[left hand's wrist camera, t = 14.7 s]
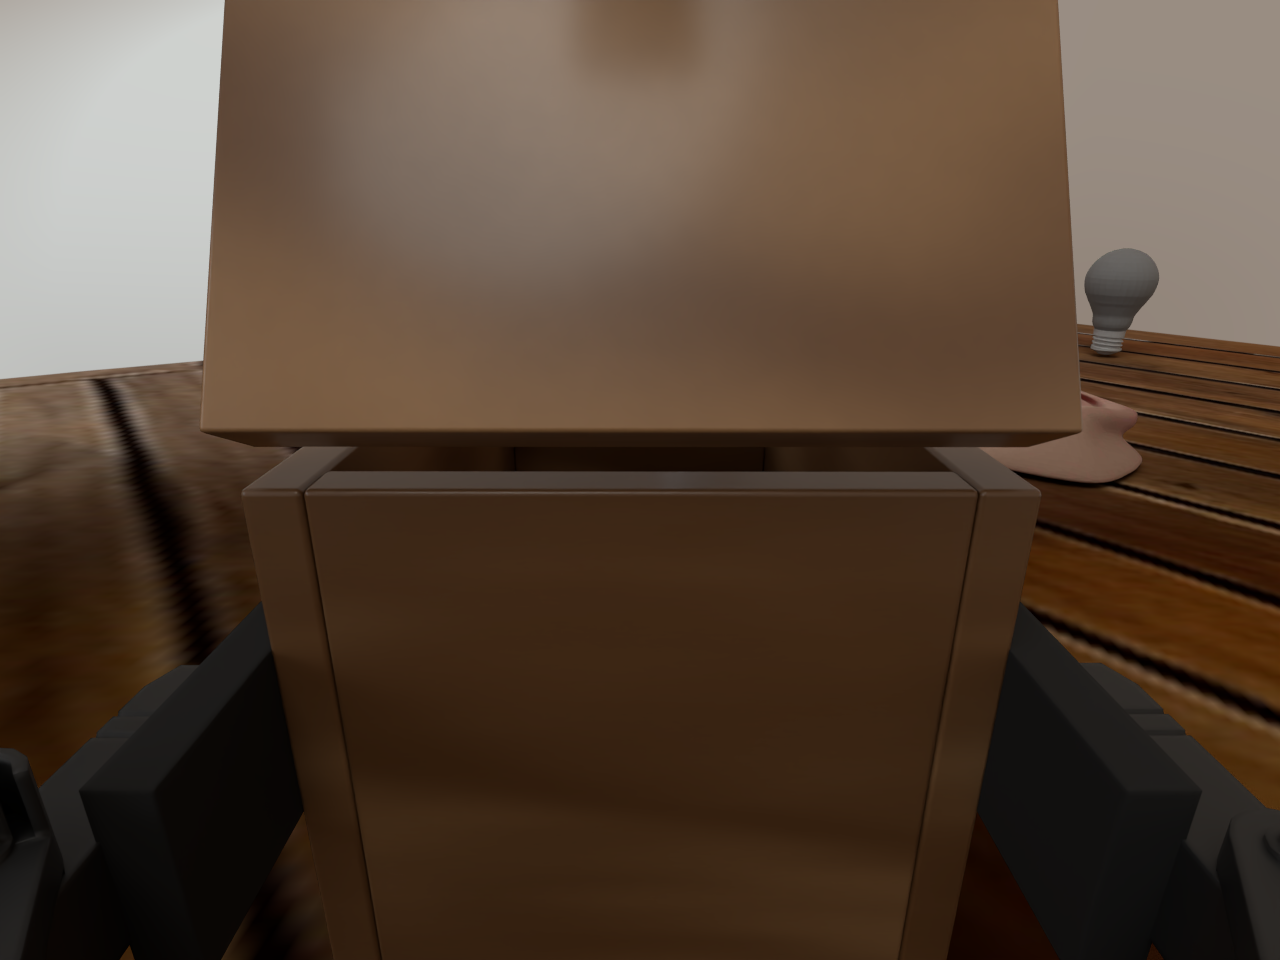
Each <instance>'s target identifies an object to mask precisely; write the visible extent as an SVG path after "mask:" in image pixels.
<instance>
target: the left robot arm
mask: <svg viewBox="0 0 1280 960" xmlns="http://www.w3.org/2000/svg"><path fill="white" fill-rule="evenodd" d="M303 811H304V810H303V805H302V800H301V795H300V790H299V785H298V780H297V775H296V770H295V764H294V760H293V755H292V749H291V744H290V739H289V734H288V729H287V724H286V719H285V714H284V709H283V704H282V699H281V694H280V689H279V684H278V679H277V674H276V669H275V664H274V659H273V654H272V649H271V644H270V639H269V634H268V629H267V624H266V619H265V614H264V609H263V604H262V601H261V602H260V603H259V604H258V605H257V606H256V607H255V608H254V609H253V610H252V611H251V612H250V613H249V614H248V615H247V616H246V617H245V619H244V620H243V621H242V622H241V623H240V624H239V625H238V626H237V627H236V628H235V629H234V630H233V631H232V632H231V633H230V634H229V635H228V636H227V637H226V638H225V639H224V640H223V641H222V642H221V643H220V644H219V645H218V647H217V648H216V649H215V650H214V651H213V652H212V653H211V654H210V655H209V656H208V657H207V658H206V659H205V660H204V661H203V662H202V663H201V664H200V665H180V666H179V667H177V668H175V669H173V670H172V671H170V672H168V673H167V674H165V675H163V676H162V677H160V678H158V679H156V680H155V681H153V682H151V683H150V684H148V685H146V686H145V687H144V688H142V689H141V690H140V691H139V692H138V693H137V694H136V695H135V696H134V697H133V698H132V699H131V700H130V701H129V702H128V703H127V704H126V705H125V706H124V707H123V708H122V709H121V710H120V711H119V714H118V716H117V717H112V718H111V719H110V720H109V721H108V722H107V723H106V724H105V725H104V726H103V727H102V728H101V729H100V730H99V731H98V732H97V736H96V738H91V739H90V740H89V741H88V742H86V743H85V744H84V745H83V746H82V747H81V748H80V749H79V750H78V751H77V752H76V753H75V754H74V755H73V756H72V757H71V758H70V759H69V760H68V761H67V762H66V763H65V764H64V765H63V766H62V767H61V768H60V769H58V770H57V771H56V772H55V773H54V774H53V775H52V776H51V777H50V778H49V779H48V780H47V781H46V782H45V783H44V784H43V785H42V786H41V787H40V788H39V789H38V787H37V784H36V781H35V778H34V776H33V773H32V770H31V767H30V764H29V761H28V759H27V756H25V755H23V754H22V753H20V752H18V751H17V750H15V749H10V748H0V960H119V959H120V958H121V956H122V955H123V954H124V952H125V951H126V949H127V948H128V946H129V945H130V947H131V950H132V953H133V956H134V959H135V960H221V958H222V957H223V955H224V953H225V951H226V949H227V948H228V946H229V944H230V942H231V941H232V939H233V937H234V935H235V933H236V932H237V930H238V928H239V926H240V924H241V923H242V921H243V919H244V917H245V915H246V914H247V912H248V910H249V908H250V906H251V905H252V903H253V901H254V899H255V898H256V896H257V894H258V892H259V890H260V889H261V887H262V885H263V883H264V881H265V880H266V878H267V876H268V874H269V872H270V871H271V869H272V867H273V865H274V863H275V862H276V860H277V858H278V856H279V855H280V853H281V851H282V849H283V847H284V846H285V844H286V842H287V840H288V838H289V837H290V835H291V833H292V831H293V829H294V828H295V826H296V824H297V822H298V820H299V819H300V817H301V815H302V813H303ZM977 812H978V814H979V816H980V817H981V819H982V821H983V823H984V824H985V826H986V828H987V830H988V832H989V833H990V835H991V837H992V839H993V841H994V842H995V844H996V846H997V848H998V850H999V851H1000V853H1001V855H1002V857H1003V859H1004V860H1005V862H1006V864H1007V866H1008V867H1009V869H1010V871H1011V873H1012V875H1013V876H1014V878H1015V880H1016V882H1017V884H1018V885H1019V887H1020V889H1021V891H1022V893H1023V894H1024V896H1025V898H1026V900H1027V902H1028V903H1029V905H1030V907H1031V909H1032V910H1033V912H1034V914H1035V916H1036V918H1037V919H1038V921H1039V923H1040V925H1041V927H1042V928H1043V930H1044V932H1045V934H1046V936H1047V937H1048V939H1049V941H1050V943H1051V945H1052V946H1053V948H1054V950H1055V952H1056V953H1057V955H1058V957H1059V959H1060V960H1146V959H1147V956H1148V953H1149V950H1150V947H1151V944H1152V943H1153V944H1154V946H1155V947H1156V948H1157V950H1158V951H1159V953H1160V954H1161V956H1162V957H1163V958H1164V960H1280V811H1279V810H1274V809H1269V808H1266V807H1265V806H1264V805H1263V804H1262V803H1261V802H1260V801H1259V800H1258V799H1256V798H1255V797H1254V796H1253V795H1252V794H1251V793H1250V792H1249V791H1248V790H1247V789H1246V788H1245V787H1244V786H1243V785H1242V784H1241V783H1240V782H1239V781H1238V780H1237V779H1236V778H1235V777H1233V776H1232V775H1231V774H1230V773H1229V772H1228V771H1227V770H1226V769H1225V768H1224V767H1223V766H1222V765H1221V764H1220V763H1219V762H1218V761H1217V760H1216V759H1215V758H1214V757H1213V756H1212V755H1211V754H1209V753H1208V752H1207V751H1206V750H1205V749H1204V748H1203V747H1202V746H1201V745H1200V744H1199V743H1198V742H1197V741H1196V740H1195V739H1194V738H1193V737H1192V736H1186V734H1185V730H1184V729H1183V728H1182V727H1181V726H1180V725H1179V724H1178V723H1177V722H1176V721H1175V720H1174V719H1173V718H1172V717H1171V716H1170V715H1169V714H1164V712H1163V709H1162V708H1161V707H1160V706H1159V705H1158V704H1157V703H1156V702H1155V701H1154V700H1153V699H1152V698H1151V697H1150V696H1149V695H1148V694H1147V693H1146V692H1145V691H1144V690H1143V689H1142V688H1141V687H1140V686H1138V685H1137V684H1136V683H1134V682H1132V681H1131V680H1129V679H1127V678H1126V677H1124V676H1122V675H1121V674H1119V673H1117V672H1115V671H1114V670H1112V669H1110V668H1109V667H1107V666H1105V665H1103V664H1102V663H1079V662H1078V661H1077V660H1076V659H1075V658H1074V657H1073V656H1072V655H1071V654H1070V653H1069V652H1068V651H1067V650H1066V649H1065V648H1064V647H1063V646H1062V645H1061V644H1060V643H1059V642H1058V640H1057V639H1056V638H1055V637H1054V636H1053V635H1052V634H1051V633H1050V632H1049V631H1048V630H1047V629H1046V628H1045V627H1044V626H1043V625H1042V624H1041V623H1040V622H1039V621H1038V620H1037V619H1036V618H1035V617H1034V616H1033V615H1032V614H1031V613H1030V611H1029V610H1028V609H1027V608H1026V607H1025V606H1024V605H1023V604H1022V603H1021V602H1020V603H1019V608H1018V613H1017V618H1016V623H1015V628H1014V633H1013V637H1012V642H1011V647H1010V650H1009V654H1008V659H1007V664H1006V669H1005V674H1004V679H1003V684H1002V689H1001V694H1000V699H999V704H998V709H997V714H996V719H995V723H994V728H993V733H992V738H991V743H990V748H989V753H988V758H987V763H986V768H985V773H984V778H983V783H982V788H981V793H980V797H979V802H978V807H977Z"/></svg>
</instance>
